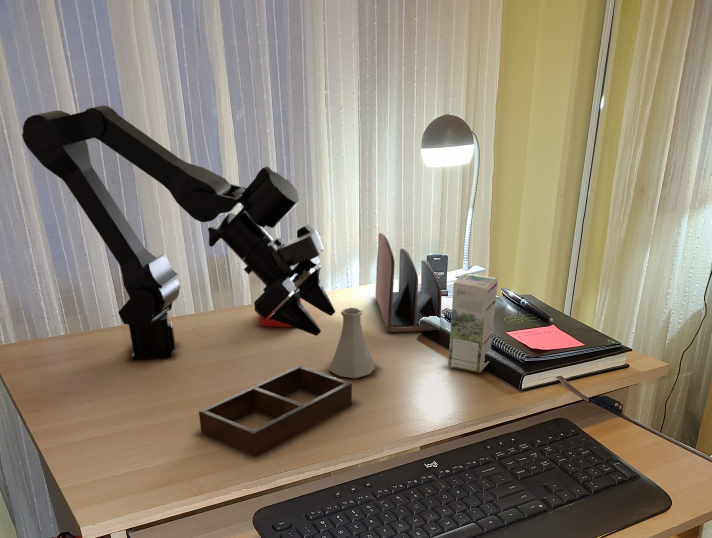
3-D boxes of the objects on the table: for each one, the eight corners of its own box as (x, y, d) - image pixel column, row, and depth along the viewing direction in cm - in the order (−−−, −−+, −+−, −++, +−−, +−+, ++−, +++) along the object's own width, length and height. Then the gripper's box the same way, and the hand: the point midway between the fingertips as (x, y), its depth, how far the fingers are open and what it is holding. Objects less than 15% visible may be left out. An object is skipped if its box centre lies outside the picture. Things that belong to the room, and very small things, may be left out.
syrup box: (490, 361, 130) (499, 276, 122) (479, 374, 125) (487, 286, 117) (458, 356, 132) (465, 271, 124) (446, 368, 127) (452, 281, 119)
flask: (356, 383, 122) (355, 322, 116) (321, 371, 125) (319, 312, 120) (382, 368, 127) (383, 309, 121) (348, 358, 130) (347, 300, 125)
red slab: (297, 326, 142) (295, 293, 139) (260, 326, 143) (258, 292, 139) (301, 312, 149) (300, 279, 146) (266, 311, 149) (264, 279, 146)
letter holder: (387, 333, 140) (389, 255, 133) (375, 298, 157) (376, 227, 149) (440, 331, 141) (445, 254, 134) (423, 297, 158) (426, 226, 150)
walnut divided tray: (201, 433, 107) (198, 411, 105) (299, 385, 121) (298, 365, 119) (255, 457, 102) (253, 433, 100) (352, 404, 115) (352, 383, 113)
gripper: (270, 226, 106) (348, 311, 111) (306, 198, 122) (373, 273, 126) (221, 278, 112) (297, 357, 116) (262, 245, 127) (327, 316, 132)
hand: (326, 323), depth 122 cm, fingers open, 9 cm apart
